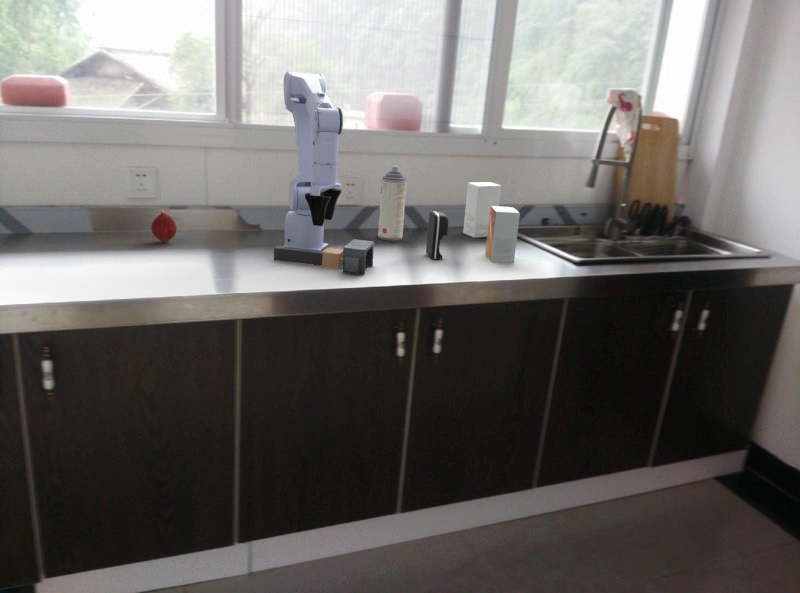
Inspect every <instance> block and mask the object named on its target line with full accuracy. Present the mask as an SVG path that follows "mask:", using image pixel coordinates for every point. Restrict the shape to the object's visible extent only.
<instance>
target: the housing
mask: <svg viewBox="0 0 800 593" xmlns="http://www.w3.org/2000/svg"><path fill="white" fill-rule="evenodd" d="M374 248H375V241H373V240H365V239H364V240H363V239H356V238H355V239H354V238H353V239H352V240H350V241H349V242H348V243H347V244H346V245H345V246H344V247H343V248H342V250H343V266H342V267H341V268H342V270H341V271H342V273H343V274H353V275H360V276H364V275H365V274H366V267H373V265H374V251H375V250H374Z"/></svg>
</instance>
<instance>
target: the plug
mask: <svg viewBox="0 0 800 593" xmlns="http://www.w3.org/2000/svg"><path fill="white" fill-rule="evenodd" d="M273 261H277V262H285V263H287V262H288V263H294V264H303V265H304V264H305V265H310V266H318V267H321V268H328V269H336V270H340V269H341V268H343V249H337V248H330V247H329V248H328V247H326V248H325V249H324V250H321V251H319V250H310V249H302V248H294V247H285V246H284V245H276V246H275V247H273Z"/></svg>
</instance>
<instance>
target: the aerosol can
mask: <svg viewBox="0 0 800 593" xmlns="http://www.w3.org/2000/svg"><path fill="white" fill-rule="evenodd" d="M380 187H381V188H380V202H379V204H380V206H379V215H378V216H379V218H378V232H377V234H378V237H377V238H378V239H380V240H383V241H390V242H393V241H394V242H397V241H402V240H403V234H404V233H403V232H404V221H405V220H404V217H405V206H406V205H405V204H406V193H407V177H404V174H402V172H401V171H400V170H399V166H398V165H392V166H391V169H390V170H389V171H388V172H386V174H385V175H382V179H381V186H380Z"/></svg>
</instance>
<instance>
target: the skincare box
mask: <svg viewBox="0 0 800 593" xmlns="http://www.w3.org/2000/svg"><path fill="white" fill-rule="evenodd" d="M466 191H467V192H466V200H465V201H466V202H465V209H464V210H465V211H464V220H463V221H464V222H463V229H462V230H463V231H462V232H463V234H465V235H466V236H469V237H472V238H487V234H488V225H489V217H490V208H491V206H500V202H501V201H500V200H501V193H502V184H498V183H494V182H491V181H485V182H484V181H483V182H482V181H481V182H480V181H479V182H474V181H473V182H467V190H466Z"/></svg>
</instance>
